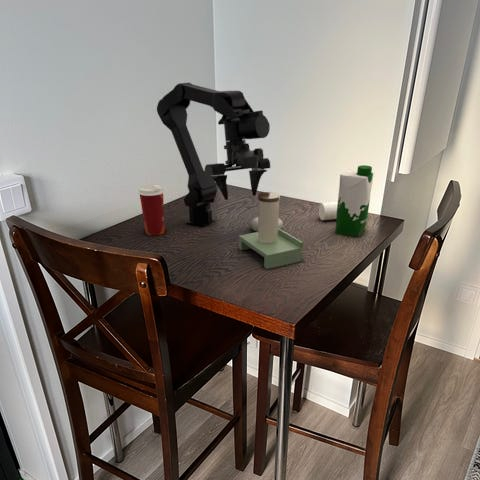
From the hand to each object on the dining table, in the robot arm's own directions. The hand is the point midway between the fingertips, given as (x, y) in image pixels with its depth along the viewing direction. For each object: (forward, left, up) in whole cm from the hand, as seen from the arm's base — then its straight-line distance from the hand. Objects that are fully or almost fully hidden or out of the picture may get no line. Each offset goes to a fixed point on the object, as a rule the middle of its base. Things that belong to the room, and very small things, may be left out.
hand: (240, 197), depth 141 cm
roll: (+21, +30, -13) cm, 39 cm away
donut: (+4, +10, -13) cm, 16 cm away
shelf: (+13, -8, -12) cm, 20 cm away
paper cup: (-26, -8, -12) cm, 30 cm away
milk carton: (+28, +20, -13) cm, 37 cm away
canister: (+12, -7, -8) cm, 17 cm away
